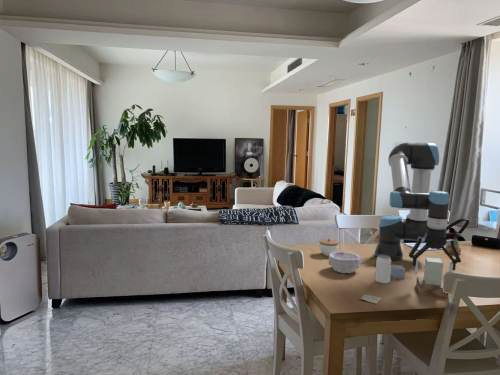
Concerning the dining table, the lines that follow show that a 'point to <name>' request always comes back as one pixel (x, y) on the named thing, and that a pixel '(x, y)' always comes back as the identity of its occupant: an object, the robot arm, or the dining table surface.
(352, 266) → the paper bowls
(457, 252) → the ornament
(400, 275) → the slate block
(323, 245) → the lidded jar
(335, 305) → the dining table surface
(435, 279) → the sage block
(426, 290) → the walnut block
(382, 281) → the can
